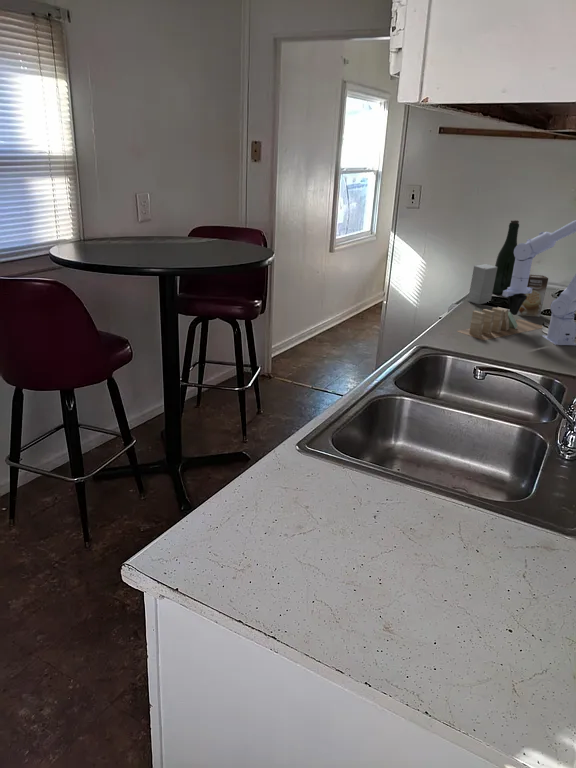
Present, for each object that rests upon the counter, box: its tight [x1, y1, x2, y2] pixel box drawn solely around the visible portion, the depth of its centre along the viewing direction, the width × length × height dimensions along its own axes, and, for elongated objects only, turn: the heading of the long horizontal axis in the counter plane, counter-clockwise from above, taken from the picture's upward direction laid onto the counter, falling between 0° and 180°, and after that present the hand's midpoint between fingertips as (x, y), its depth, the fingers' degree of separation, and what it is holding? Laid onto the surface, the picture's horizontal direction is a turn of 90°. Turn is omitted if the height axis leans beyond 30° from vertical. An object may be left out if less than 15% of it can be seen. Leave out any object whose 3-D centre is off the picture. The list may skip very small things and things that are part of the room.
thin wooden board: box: [456, 318, 543, 341], centre depth 218 cm, size 37×12×1 cm, turn 125°
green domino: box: [508, 311, 518, 329], centre depth 218 cm, size 2×4×8 cm
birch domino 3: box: [491, 307, 504, 332], centre depth 214 cm, size 2×4×8 cm, turn 35°
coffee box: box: [516, 274, 549, 318], centre depth 238 cm, size 9×6×16 cm
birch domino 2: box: [481, 308, 495, 334], centre depth 211 cm, size 2×4×8 cm, turn 35°
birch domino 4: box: [497, 306, 509, 331], centre depth 216 cm, size 2×4×8 cm, turn 35°
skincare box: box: [467, 263, 497, 305], centre depth 256 cm, size 8×7×16 cm
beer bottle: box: [492, 219, 520, 296], centre depth 272 cm, size 10×10×33 cm
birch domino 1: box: [469, 310, 485, 336], centre depth 208 cm, size 2×4×8 cm, turn 35°
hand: (513, 314), depth 219 cm, fingers closed
